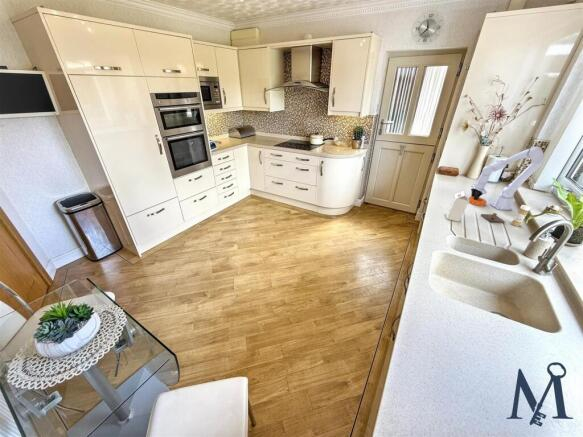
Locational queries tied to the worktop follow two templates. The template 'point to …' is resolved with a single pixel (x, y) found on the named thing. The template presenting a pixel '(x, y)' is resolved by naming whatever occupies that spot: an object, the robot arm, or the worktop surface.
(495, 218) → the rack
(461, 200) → the milk carton
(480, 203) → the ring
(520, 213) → the sprinkles bottle
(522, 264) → the worktop surface
